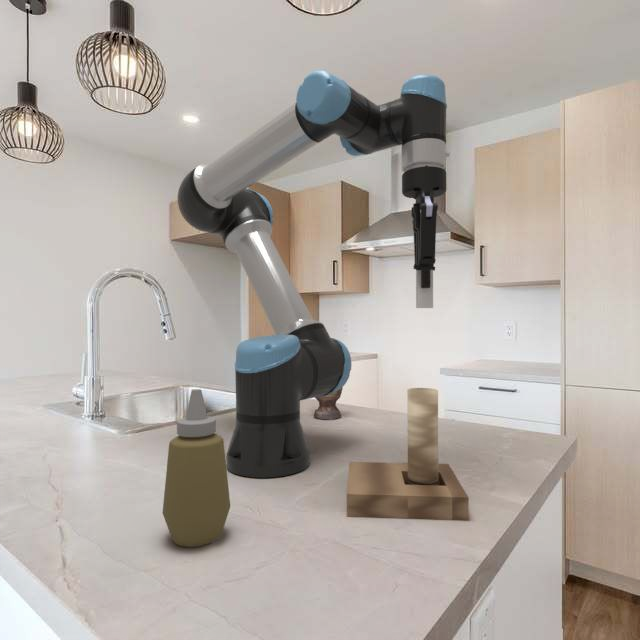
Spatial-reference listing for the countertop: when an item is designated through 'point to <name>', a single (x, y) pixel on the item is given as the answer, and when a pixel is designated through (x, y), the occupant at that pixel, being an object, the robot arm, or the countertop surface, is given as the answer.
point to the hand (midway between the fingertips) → (424, 307)
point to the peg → (422, 436)
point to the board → (403, 493)
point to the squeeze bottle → (196, 479)
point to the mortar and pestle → (328, 406)
